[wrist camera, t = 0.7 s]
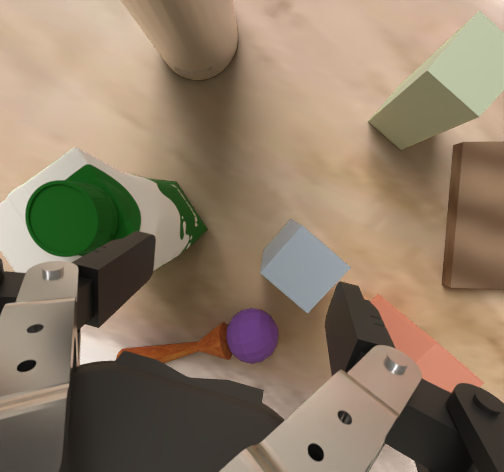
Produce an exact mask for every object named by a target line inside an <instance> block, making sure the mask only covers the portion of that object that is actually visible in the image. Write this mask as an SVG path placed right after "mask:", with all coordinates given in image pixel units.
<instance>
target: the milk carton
mask: <svg viewBox="0 0 504 472" xmlns="http://www.w3.org/2000/svg"><path fill="white" fill-rule="evenodd" d="M207 230H208V229H207V227H206V226H205V224H204V223H203V221H202V220H201V218H200V217H199V215H198V214H197V212H196V211H195V209H194V208H193V206H192V205H191V203H190V202H189V200H188V199H187V197H186V196H185V194H184V192H183V191H182V189H181V188H180V186H179V185H178V183H177V182H174V181H165V180H155V179H150V178H146V177H141V176H137V175H133V174H128V173H124V172H121V171H119V170H117V169H115V168H114V167H112V166H110V165H108V164H106V163H104V162H103V161H101V160H99V159H97V158H95V157H93V156H92V155H90V154H88V153H86V152H84V151H83V150H81V149H79V148H73V149H71V150H70V151H68V152H67V153H66V154H64V155H63V156H61V157H60V158H59V159H57V160H56V161H54V162H53V163H52V164H50V165H49V166H48V167H46V168H45V169H43V170H42V171H41V172H39V173H38V174H36V175H35V176H34V177H32V178H31V179H30V180H28V181H27V182H26V183H24V184H23V185H20V186H18V187H17V188H16V189H14V190H13V191H11V192H10V193H9V194H8V195H7V199H6V200H4V201H3V202H2V203H0V251H1V252H2V254H3V255H4V257H5V258H6V259H7V261H8V262H9V264H10V265H11V266H12V268H13V269H14V271H15V272H20V273H26V272H27V270H28V269H30V268H31V267H33V266H35V265H37V264H40V263H44V262H50V261H66V262H71V263H72V262H73V261H75V260H77V259H79V258H81V257H82V256H84V255H86V254H88V253H90V252H92V251H94V250H95V249H97V248H99V247H101V246H102V245H104V244H106V243H108V242H110V241H113V240H117V239H121V238H125V237H126V236H128V235H130V234H132V233H133V232H135V231H140V232H144V233H148V234H152V235H154V236H155V238H156V244H155V258H154V269H153V271H154V270H156V269H158V268H160V267H161V266H163V265H165V264H166V263H168V262H169V261H171V260H172V259H174V258H175V257H177V256H178V255H180V254H181V253H183V252H184V251H185V250H187V249H188V248H189V247H190V246H191V245H192V244H193V243H194V242H195V241H196V240H198V239H199V238H200V237H201V236H202V235H203V234H204V233H205V232H206V231H207Z"/></svg>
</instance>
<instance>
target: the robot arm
mask: <svg viewBox="0 0 504 472" xmlns="http://www.w3.org/2000/svg"><path fill="white" fill-rule="evenodd" d="M121 1H122V3H123V4H124V5H125V7H126V8H127V10H128V11H129V12H130V14H131V15H132V17H133V18H134V19H135V21H136V22H137V23H138V25H139V26H140V28H141V29H142V30H143V32H144V33H145V34H146V36H147V37H148V39H149V40H150V41H151V43H152V44H153V46H154V47H155V48H156V50H157V51H158V52H159V54H160V55H161V56H162V58H163V59H164V61H165V62H166V63H167V65H168V66H169V67H170V68H171V69H172V70H173V71H174V72H175V73H177V74H178V75H180V76H182V77H184V78H187V79H190V80H205V79H209V78H211V77H214V76H216V75H217V74H219V73H220V72H222V71H223V70H224V69H225V68H226V67H227V66H228V65H229V63H230V62H231V60H232V59H233V57H234V54H235V52H236V48H237V43H238V29H237V24H236V18H235V12H234V7H233V0H121ZM155 244H156V238H155V236H154V235H152V234H148V233H144V232H140V231H135V232H133V233H132V234H130V235H128V236H126V237H125V238H121V239H117V240H113V241H110V242H108V243H106V244H104V245H102V246H101V247H99V248H97V249H95V250H94V251H92V252H90V253H88V254H86V255H84V256H82V257H81V258H79V259H77V260H75V261H73V262H72V263H71V262H66V261H50V262H44V263H40V264H37V265H35V266H33V267H31V268H30V269H28V270H27V272H26V273H20V272H4V271H3V264H2V260H1V259H0V472H369V470H370V469H371V467H372V465H373V464H374V462H375V460H376V459H377V457H378V455H379V453H380V452H381V450H382V448H383V447H384V445H385V443H386V444H387V445H389V446H391V447H392V448H394V449H396V450H397V451H399V452H401V453H402V454H404V455H406V456H407V457H409V458H411V459H412V460H414V461H415V464H416V467H417V470H418V472H504V403H503V402H501V401H500V400H499V399H498V398H496V397H495V396H493V395H492V394H490V393H489V392H487V391H485V390H484V389H482V388H480V387H477V386H475V385H472V384H468V383H459V384H457V385H456V386H455V388H454V389H453V391H452V393H451V392H449V391H446V390H444V389H442V388H440V387H438V386H436V385H434V384H432V383H430V382H428V381H426V380H424V379H423V378H422V373H421V370H420V368H419V367H418V365H417V364H416V363H415V362H414V361H413V360H412V359H411V358H410V357H409V356H407V355H406V354H405V353H403V352H401V351H400V350H397V349H396V348H395V346H394V343H393V341H392V339H391V337H390V335H389V333H388V330H387V328H386V327H385V324H384V322H383V320H382V317H381V315H380V313H379V311H378V309H377V308H376V307H375V306H374V305H373V304H372V303H371V302H370V301H368V300H364V298H363V296H362V293H361V291H360V288H359V286H356V285H352V284H348V283H344V282H339V283H338V284H337V286H336V289H335V292H334V295H333V297H332V300H331V303H330V306H329V309H328V312H327V315H326V320H325V330H326V338H327V345H328V352H329V359H330V366H331V373H332V377H331V378H330V379H329V380H328V381H327V382H326V383H325V384H324V385H323V386H321V387H320V388H319V389H318V390H317V391H316V392H315V393H314V394H313V395H312V396H311V397H310V398H308V399H307V400H306V401H305V402H304V403H303V404H302V405H301V406H300V407H299V408H298V409H297V410H295V411H294V412H293V413H292V414H291V415H290V416H289V417H288V418H287V419H286V420H284V419H283V418H282V417H281V416H279V415H278V414H277V413H276V412H275V411H273V410H272V409H271V408H269V407H268V406H266V405H265V404H263V403H262V398H263V391H264V390H261V389H258V388H254V387H251V386H247V385H244V384H240V383H237V382H233V381H230V380H218V379H200V378H189V377H186V376H184V375H183V374H181V373H179V372H177V371H176V370H174V369H172V368H171V367H169V366H167V365H165V364H164V363H162V362H160V361H158V360H156V359H153V358H149V357H146V356H142V355H139V354H135V353H132V352H128V351H125V350H124V351H123V352H122V353H121V354H120V356H119V357H118V358H117V359H116V360H115V361H99V362H92V363H88V364H83V365H80V343H81V327H82V326H83V325H85V324H87V325H90V326H94V327H97V328H99V327H100V326H101V325H102V324H103V323H104V322H105V321H106V320H107V319H109V318H110V317H111V316H112V315H113V314H114V313H115V312H116V311H117V310H118V309H119V308H120V307H121V306H122V305H123V304H124V303H125V302H126V301H127V300H128V299H130V298H131V297H132V296H133V295H134V294H135V293H136V292H137V291H138V290H139V289H140V288H141V287H142V286H143V285H144V284H145V283H146V282H147V281H148V280H149V279H150V277H151V275H152V273H153V269H154V258H155Z"/></svg>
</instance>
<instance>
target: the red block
mask: <svg viewBox="0 0 504 472" xmlns="http://www.w3.org/2000/svg"><path fill="white" fill-rule="evenodd" d="M371 303H372V304H373V305H374V306H375V307H376V308H377V309H378V311H379V313H380V315H381V317H382V320H383V322H384V324H385V327H386V328H387V330H388V333H389V335H390V337H391V339H392V341H393V343H394V346H395V348H396V349H397V350H400V351H401V352H403V353H405V354H406V355H407V356H409V357H410V358H411V359H412V360H413V361H414V362H415V363H416V364H417V365H418V367H419V368H420V370H421V373H422V378H423V379H424V380H426V381H428V382H430V383H432V384H434V385H436V386H438V387H440V388H442V389H444V390H446V391H449V392H451V393H452V391H453V389H454V388H455V386H456V385H457V384H459V383H468V384H472V385H475V386H477V387H480V386H481V385H483V384H484V382H483V381H481V380H480V379H479V378H478V377H477V376H476V375H474V374H473V373H472V372H471V371H470V370H469V369H468V368H466V367H465V366H464V365H463V364H462V363H461V362H459V361H458V360H457V359H456V358H455V357H454V356H452V355H451V354H450V353H449V352H448V351H447V350H446V349H444V348H443V347H442V346H441V345H440V344H439V343H437V342H436V341H435V340H434V339H433V338H431V337H430V336H429V335H428V334H426V333H425V332H424V331H423V330H421V329H420V328H419V327H418V326H417V325H415V324H414V323H413V322H412V321H410V320H409V319H408V318H407V317H405V316H404V315H403V314H402V313H401V312H399V311H398V310H397V309H396V308H394V307H393V306H392V305H391V304H389V303H388V302H387V301H386V300H385V299H383V298H382V297H381V296H380V295H377V296H376V297H375V298H374V299H373V300H372V301H371Z"/></svg>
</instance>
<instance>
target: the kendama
mask: <svg viewBox="0 0 504 472" xmlns="http://www.w3.org/2000/svg"><path fill="white" fill-rule="evenodd" d="M277 341H278V328H277V325H276V324H275V322H274V320H273V319H272V317H271V316H270V315H269V314H267V313H266V312H264V311H263V310H259V309H253V308H250V309H246V310H242V311H240V312H239V313H237V314H236V315H235V316H233V318H232V320H231V321H230V323H229V325H228V326H227V325H226V324H225V323H224V322H223V323H221V324H220V325H218V326H217V327H216V328H215V329H213V330H212V331H211V332H210V333H208V334H207V335H206V336H205V337H203V338H202V339H201V340H200V341H198V342H189V343H179V344H168V345H157V346H146V347H135V348H125V349H122V350H121V351H120V352H119V353H118V355H117V358H118V357H119V356H120V354H121V353H122V352H123V351H124V350H125V351H128V352H132V353H135V354H139V355H142V356H146V357H149V358H153V359H156V360H158V361H160V362H162V363H166V362H169V361H172V360H175V359H178V358H181V357H184V356H187V355H190V354H193V353H195V352H198V351H201V352H204V353H207V354H211V355H214V356H217V357H221V358H224V359H227V360H229V359H231V356H232V354H233V355H235V356H236V357H237V358H238V359H239V360H241V361H243V362H247V363H251V364H252V363H257V362H262V361H263V360H265V359H266V358H267V357H269V356H270V355H271V354H272V353H273V351H274V349H275V348H276V346H277ZM117 358H116V359H117Z"/></svg>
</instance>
